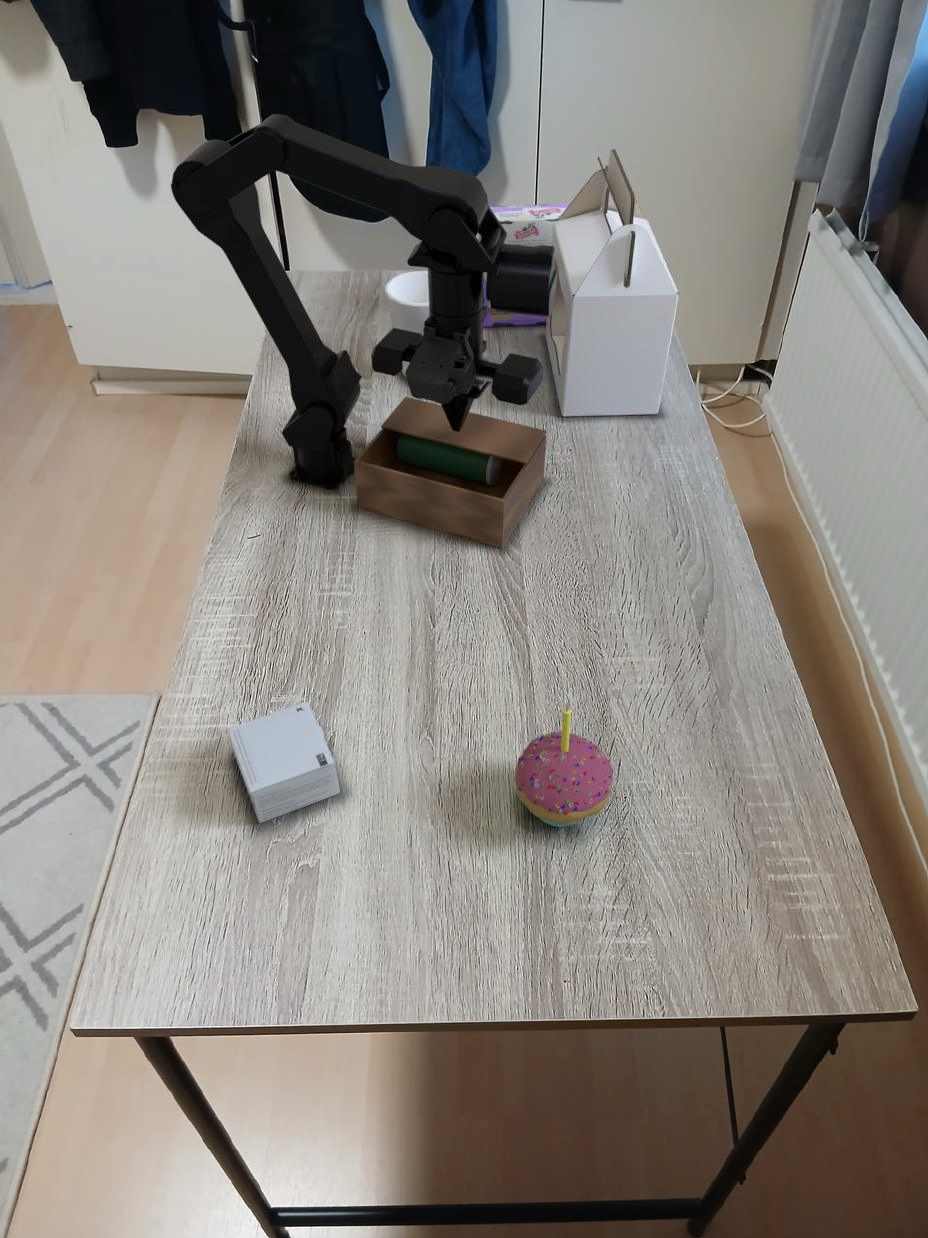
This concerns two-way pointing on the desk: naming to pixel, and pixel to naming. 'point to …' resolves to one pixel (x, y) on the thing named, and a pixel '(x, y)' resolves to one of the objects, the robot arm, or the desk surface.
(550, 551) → the desk surface
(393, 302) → the cup
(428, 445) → the crisps tube
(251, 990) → the desk surface
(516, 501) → the snack box
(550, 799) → the cupcake
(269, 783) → the small box
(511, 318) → the candy box
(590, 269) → the gable box
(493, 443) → the flap
